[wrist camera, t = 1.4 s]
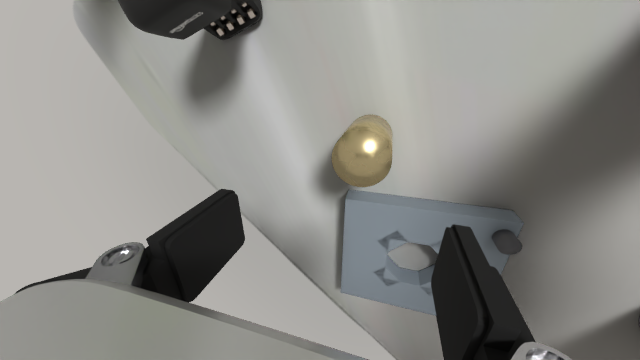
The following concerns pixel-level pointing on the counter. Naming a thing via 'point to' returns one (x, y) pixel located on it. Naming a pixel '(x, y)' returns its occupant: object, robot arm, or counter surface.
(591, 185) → the counter surface
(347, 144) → the brass cylinder
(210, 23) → the battery charger
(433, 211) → the plate
